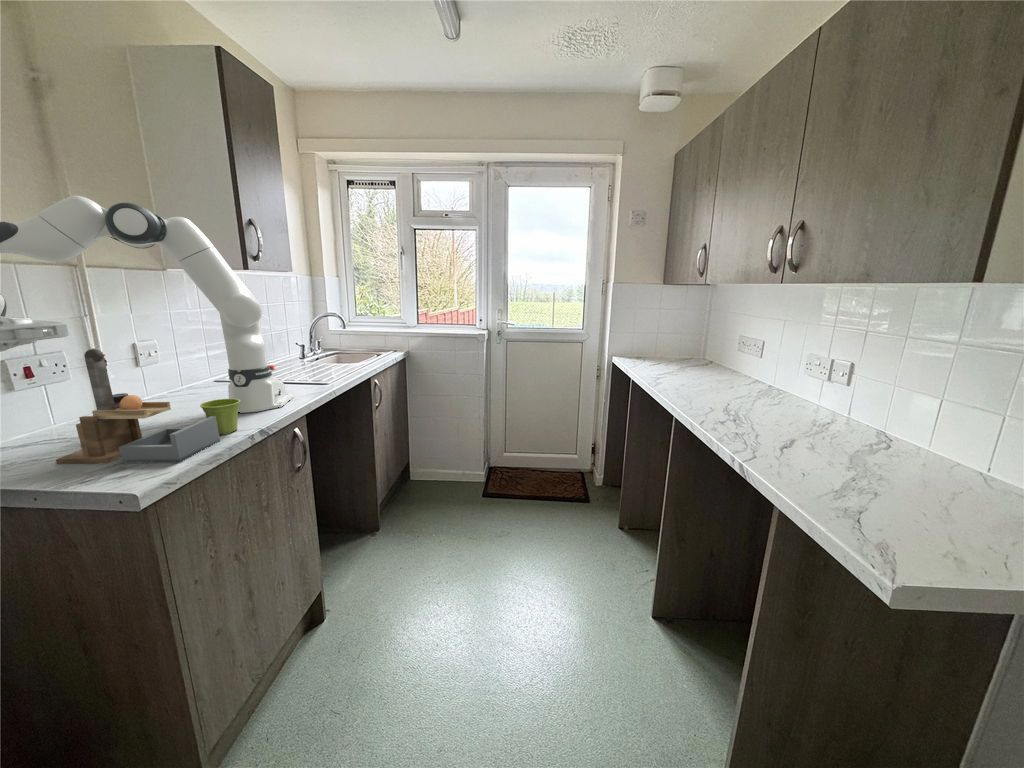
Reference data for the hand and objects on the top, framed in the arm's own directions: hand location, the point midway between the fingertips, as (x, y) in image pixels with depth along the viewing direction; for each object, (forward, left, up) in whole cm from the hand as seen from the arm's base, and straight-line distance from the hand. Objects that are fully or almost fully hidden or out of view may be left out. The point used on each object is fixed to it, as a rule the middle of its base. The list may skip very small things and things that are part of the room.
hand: (47, 333), depth 100 cm
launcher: (+2, +17, -21) cm, 27 cm away
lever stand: (+2, +10, -30) cm, 32 cm away
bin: (+2, +26, -30) cm, 40 cm away
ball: (+2, +18, -17) cm, 25 cm away
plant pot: (-13, +29, -30) cm, 44 cm away
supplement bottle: (-13, +1, -30) cm, 33 cm away
